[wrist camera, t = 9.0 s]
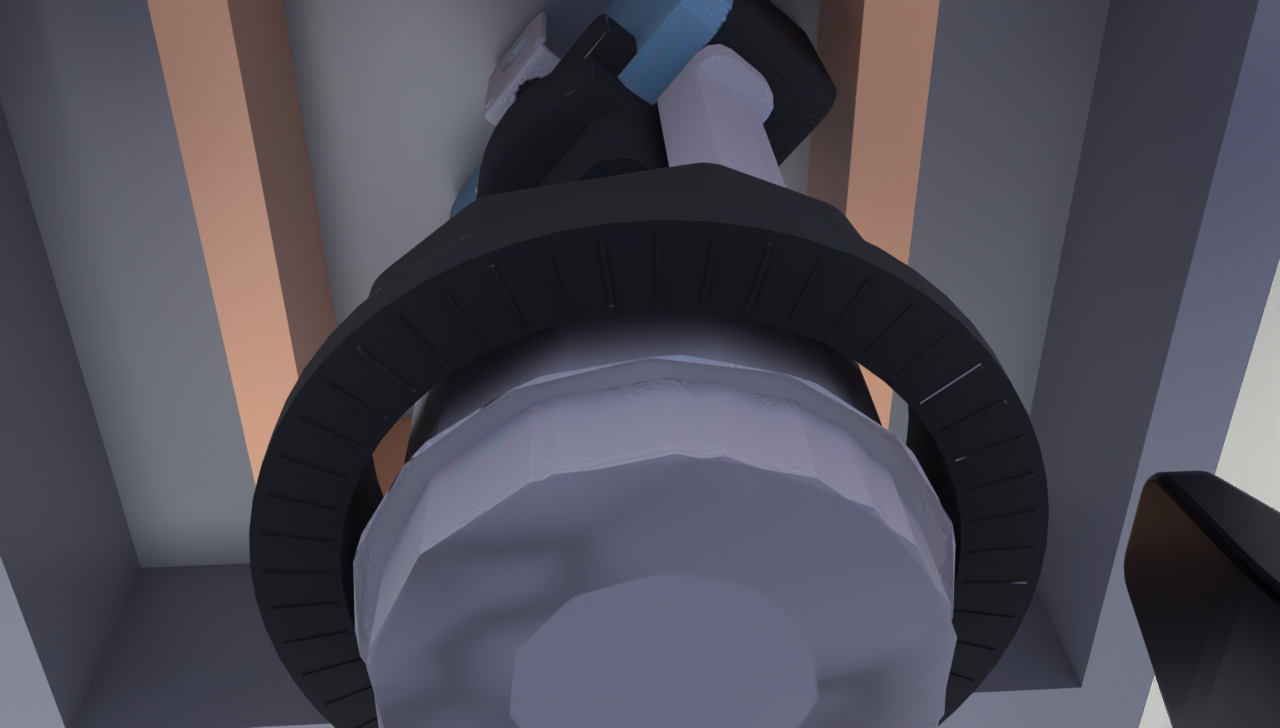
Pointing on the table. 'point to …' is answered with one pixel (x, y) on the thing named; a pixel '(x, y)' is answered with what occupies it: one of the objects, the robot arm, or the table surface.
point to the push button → (649, 427)
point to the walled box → (421, 202)
